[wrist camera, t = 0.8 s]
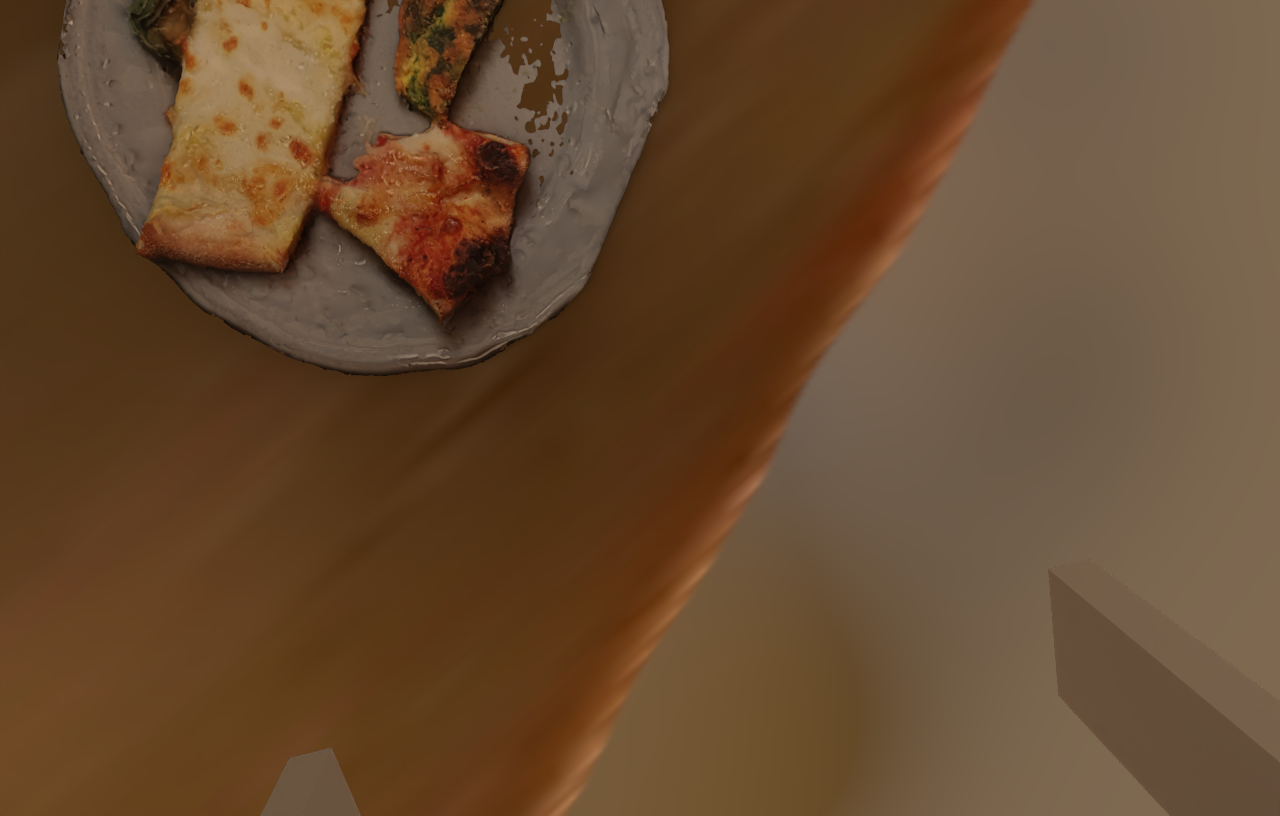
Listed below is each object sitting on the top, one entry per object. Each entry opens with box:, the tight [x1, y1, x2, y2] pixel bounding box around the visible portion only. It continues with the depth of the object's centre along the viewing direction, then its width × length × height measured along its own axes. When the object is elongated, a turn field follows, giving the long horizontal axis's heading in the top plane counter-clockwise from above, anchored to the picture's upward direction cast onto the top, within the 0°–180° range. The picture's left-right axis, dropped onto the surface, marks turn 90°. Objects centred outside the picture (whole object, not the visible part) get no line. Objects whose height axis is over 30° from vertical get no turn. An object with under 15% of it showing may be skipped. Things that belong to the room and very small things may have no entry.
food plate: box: [57, 0, 670, 376], centre depth 33 cm, size 25×23×4 cm
